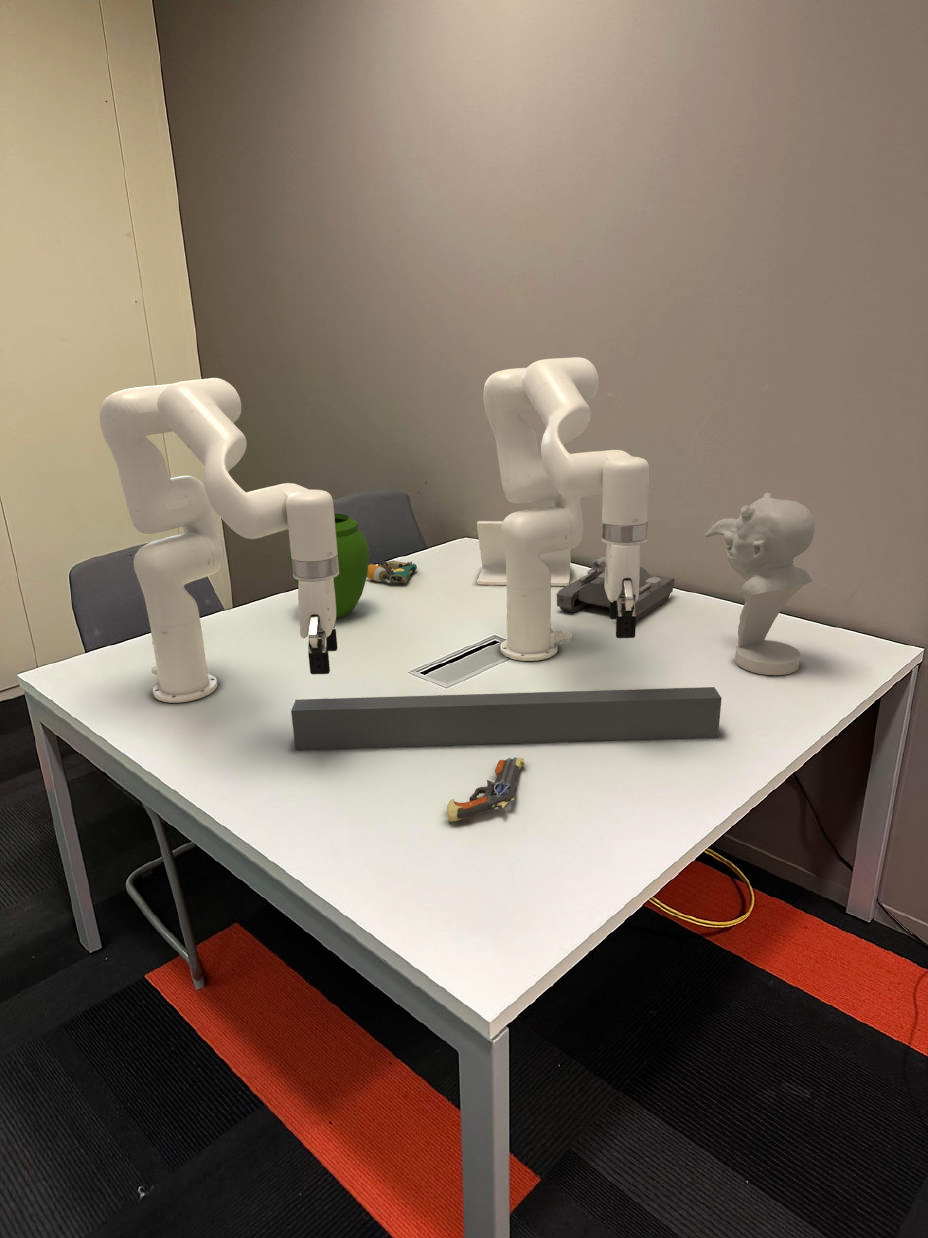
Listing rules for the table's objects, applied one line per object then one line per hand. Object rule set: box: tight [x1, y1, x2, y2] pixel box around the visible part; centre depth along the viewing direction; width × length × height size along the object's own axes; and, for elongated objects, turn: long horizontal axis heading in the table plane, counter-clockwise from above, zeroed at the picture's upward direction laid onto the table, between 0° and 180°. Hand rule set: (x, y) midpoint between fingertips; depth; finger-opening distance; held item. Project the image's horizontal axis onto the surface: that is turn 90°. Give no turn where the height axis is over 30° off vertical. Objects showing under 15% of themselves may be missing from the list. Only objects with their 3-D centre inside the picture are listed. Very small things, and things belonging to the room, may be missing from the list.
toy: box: [556, 554, 676, 621], centre depth 212 cm, size 25×20×15 cm
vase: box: [288, 513, 370, 619], centre depth 209 cm, size 20×20×24 cm
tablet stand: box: [476, 520, 572, 587], centre depth 236 cm, size 18×25×17 cm
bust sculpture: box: [704, 492, 816, 676], centre depth 176 cm, size 16×24×35 cm, turn 28°
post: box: [290, 686, 723, 751], centre depth 150 cm, size 74×4×8 cm, turn 91°
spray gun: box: [366, 560, 418, 584], centre depth 241 cm, size 4×17×15 cm
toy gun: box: [446, 756, 526, 822], centre depth 134 cm, size 3×19×10 cm
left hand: (324, 661), depth 146 cm, fingers open, 9 cm apart
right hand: (622, 627), depth 149 cm, fingers open, 9 cm apart
